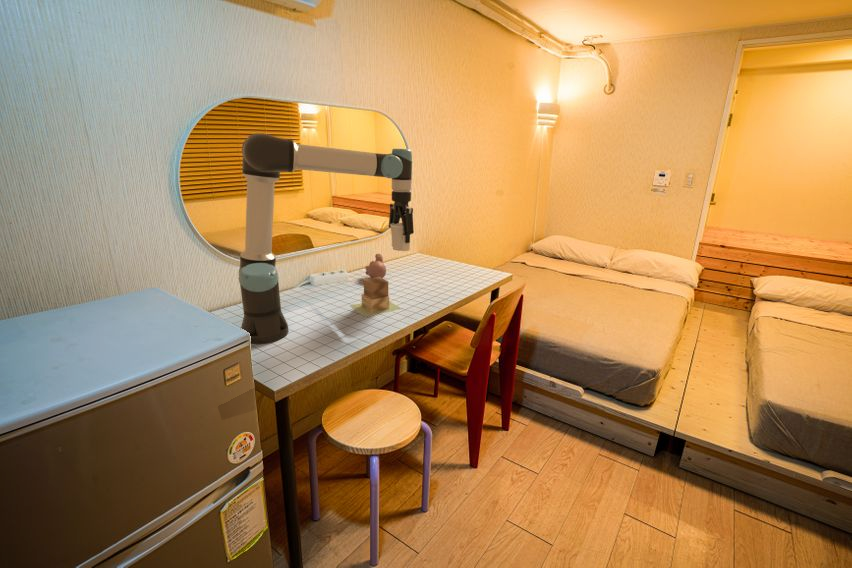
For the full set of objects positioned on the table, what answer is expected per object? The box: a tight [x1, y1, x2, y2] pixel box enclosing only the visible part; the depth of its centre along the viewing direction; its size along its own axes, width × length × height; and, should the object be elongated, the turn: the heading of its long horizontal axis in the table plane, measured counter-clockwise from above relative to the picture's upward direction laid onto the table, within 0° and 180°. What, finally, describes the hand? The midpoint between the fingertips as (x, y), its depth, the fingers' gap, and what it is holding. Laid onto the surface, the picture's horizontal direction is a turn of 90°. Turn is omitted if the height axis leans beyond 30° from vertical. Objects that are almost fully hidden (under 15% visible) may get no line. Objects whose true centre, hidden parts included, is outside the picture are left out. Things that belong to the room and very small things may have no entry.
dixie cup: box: [390, 222, 404, 252], centre depth 164 cm, size 8×8×10 cm
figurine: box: [364, 253, 387, 279], centre depth 198 cm, size 9×11×12 cm
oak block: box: [361, 293, 390, 312], centre depth 162 cm, size 8×8×5 cm
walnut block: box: [363, 277, 389, 299], centre depth 160 cm, size 7×7×6 cm
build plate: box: [349, 300, 402, 318], centre depth 163 cm, size 16×13×1 cm
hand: (400, 248), depth 166 cm, fingers closed on dixie cup, 8 cm apart
